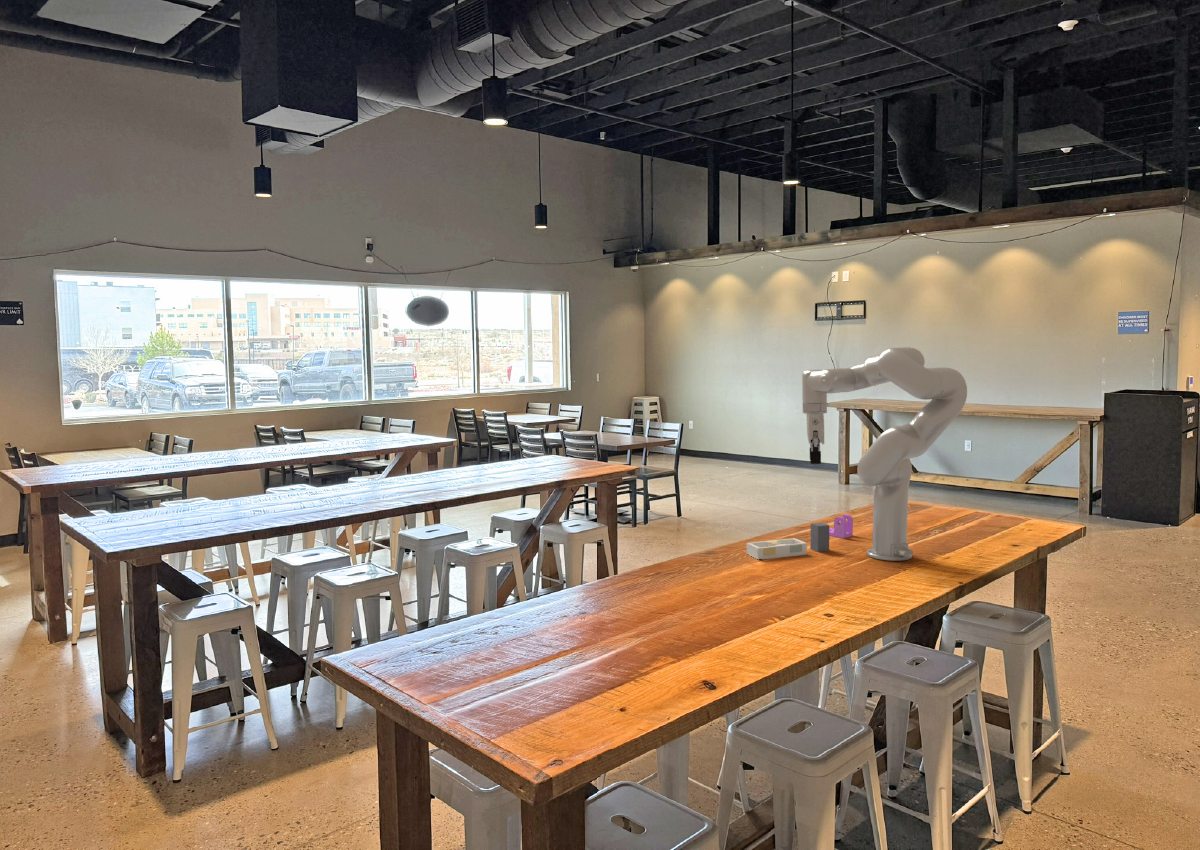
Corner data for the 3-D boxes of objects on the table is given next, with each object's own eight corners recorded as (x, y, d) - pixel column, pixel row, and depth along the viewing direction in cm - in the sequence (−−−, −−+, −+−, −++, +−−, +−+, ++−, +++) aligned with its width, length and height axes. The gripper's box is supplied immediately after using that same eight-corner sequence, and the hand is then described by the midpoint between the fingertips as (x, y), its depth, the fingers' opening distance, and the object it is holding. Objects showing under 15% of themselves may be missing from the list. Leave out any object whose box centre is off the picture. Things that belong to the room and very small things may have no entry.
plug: (829, 550, 248) (829, 525, 248) (817, 552, 247) (818, 526, 246) (821, 547, 252) (821, 522, 251) (810, 549, 251) (810, 523, 250)
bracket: (852, 535, 267) (853, 515, 267) (844, 539, 263) (844, 517, 263) (817, 529, 276) (817, 509, 276) (808, 532, 273) (808, 512, 272)
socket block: (807, 554, 244) (807, 542, 244) (758, 560, 239) (758, 547, 239) (794, 549, 251) (794, 537, 250) (746, 554, 246) (746, 542, 245)
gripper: (828, 410, 250) (828, 465, 251) (825, 406, 267) (826, 458, 268) (802, 410, 252) (803, 465, 253) (802, 406, 269) (802, 458, 270)
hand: (815, 461), depth 261 cm, fingers open, 9 cm apart
